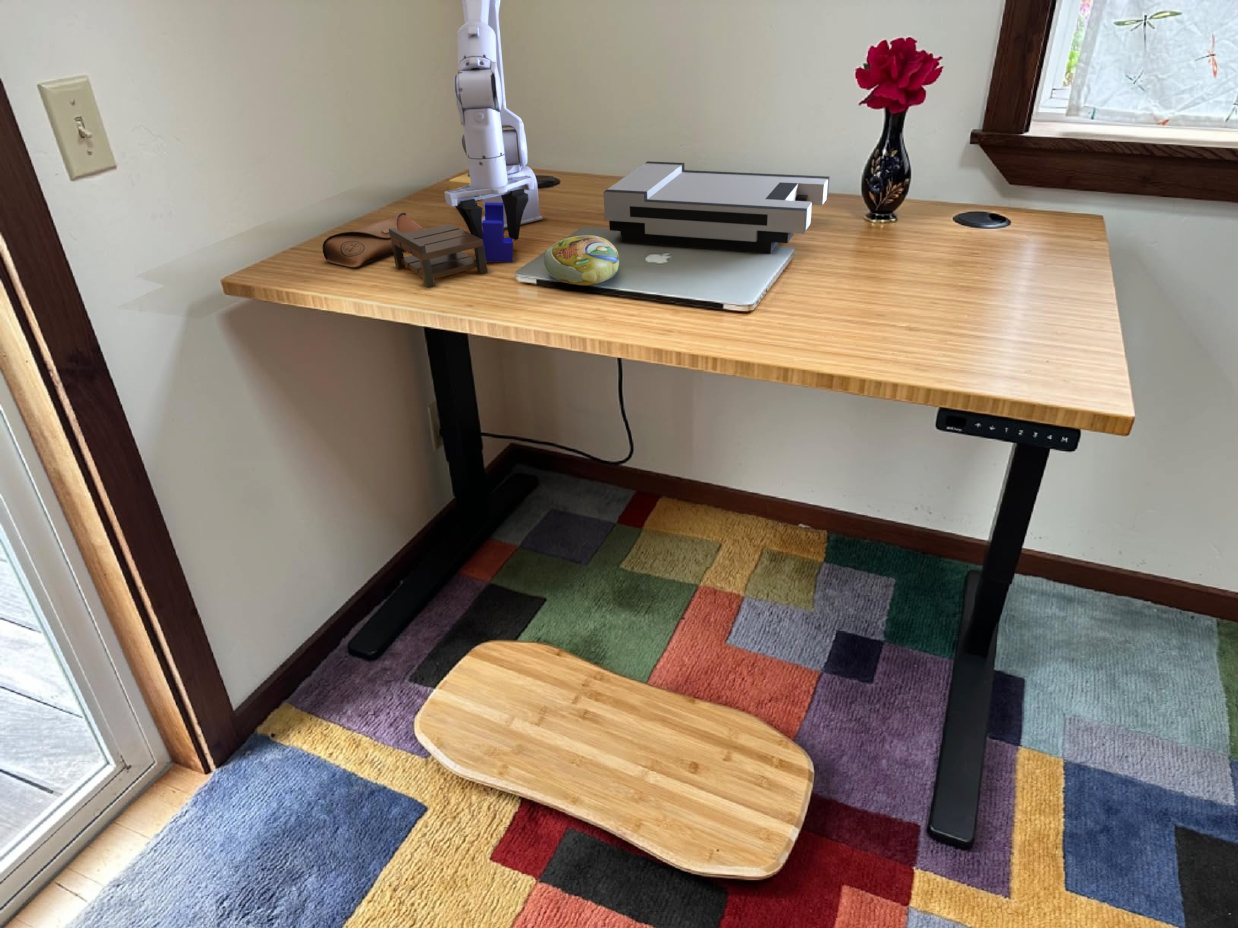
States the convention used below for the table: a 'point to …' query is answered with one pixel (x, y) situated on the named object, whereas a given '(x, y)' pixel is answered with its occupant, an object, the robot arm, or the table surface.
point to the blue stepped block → (496, 235)
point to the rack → (437, 251)
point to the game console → (711, 207)
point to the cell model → (582, 260)
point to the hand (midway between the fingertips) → (496, 242)
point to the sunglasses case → (366, 242)
